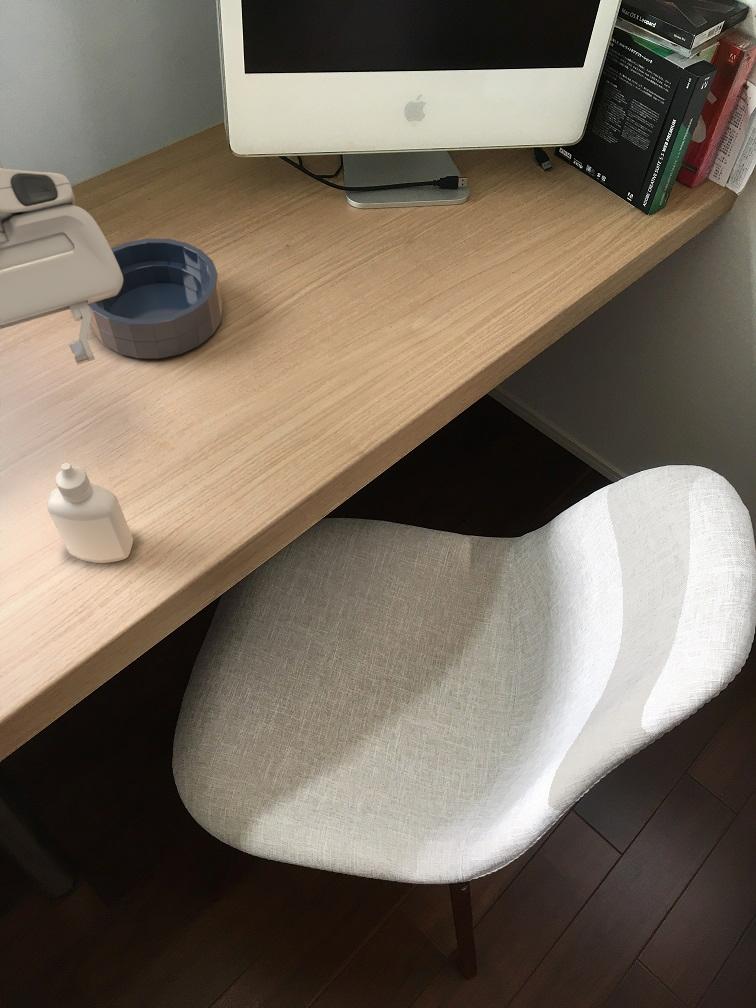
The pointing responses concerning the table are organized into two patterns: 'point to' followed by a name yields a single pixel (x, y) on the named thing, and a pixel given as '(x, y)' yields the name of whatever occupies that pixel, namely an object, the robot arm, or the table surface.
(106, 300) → the bowl
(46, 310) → the robot arm
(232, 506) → the table surface
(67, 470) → the eye dropper bottle
